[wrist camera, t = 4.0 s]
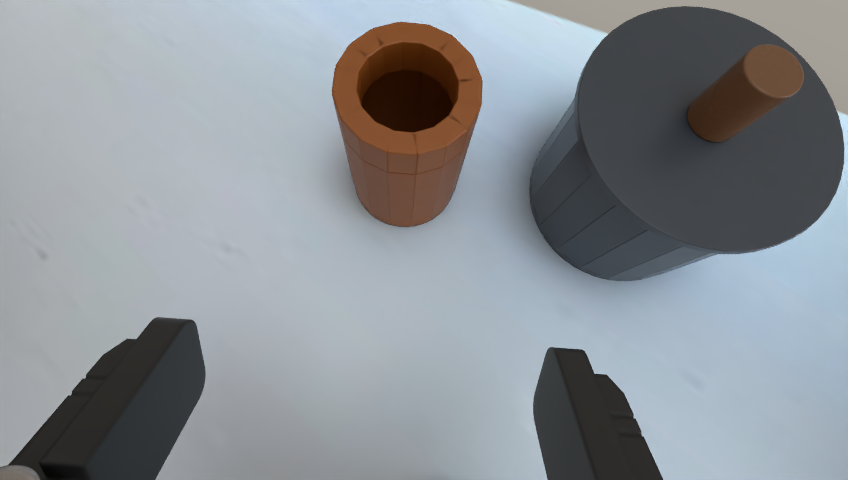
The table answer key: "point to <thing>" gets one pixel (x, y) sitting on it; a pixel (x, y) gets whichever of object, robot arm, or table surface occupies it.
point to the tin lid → (708, 130)
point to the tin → (593, 217)
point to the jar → (406, 118)
